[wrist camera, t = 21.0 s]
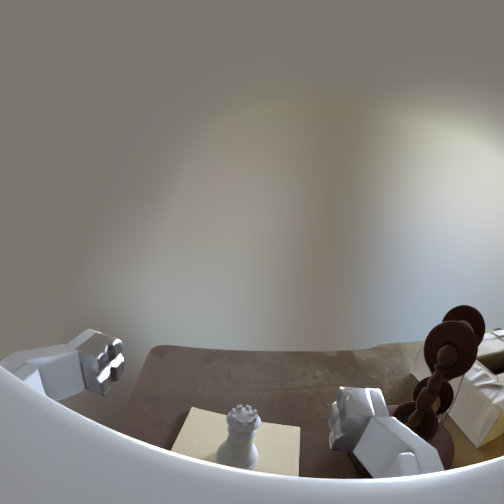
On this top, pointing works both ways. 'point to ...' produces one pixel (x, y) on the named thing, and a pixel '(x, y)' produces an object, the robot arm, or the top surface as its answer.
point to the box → (476, 390)
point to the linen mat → (265, 440)
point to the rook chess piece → (240, 439)
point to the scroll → (440, 380)
